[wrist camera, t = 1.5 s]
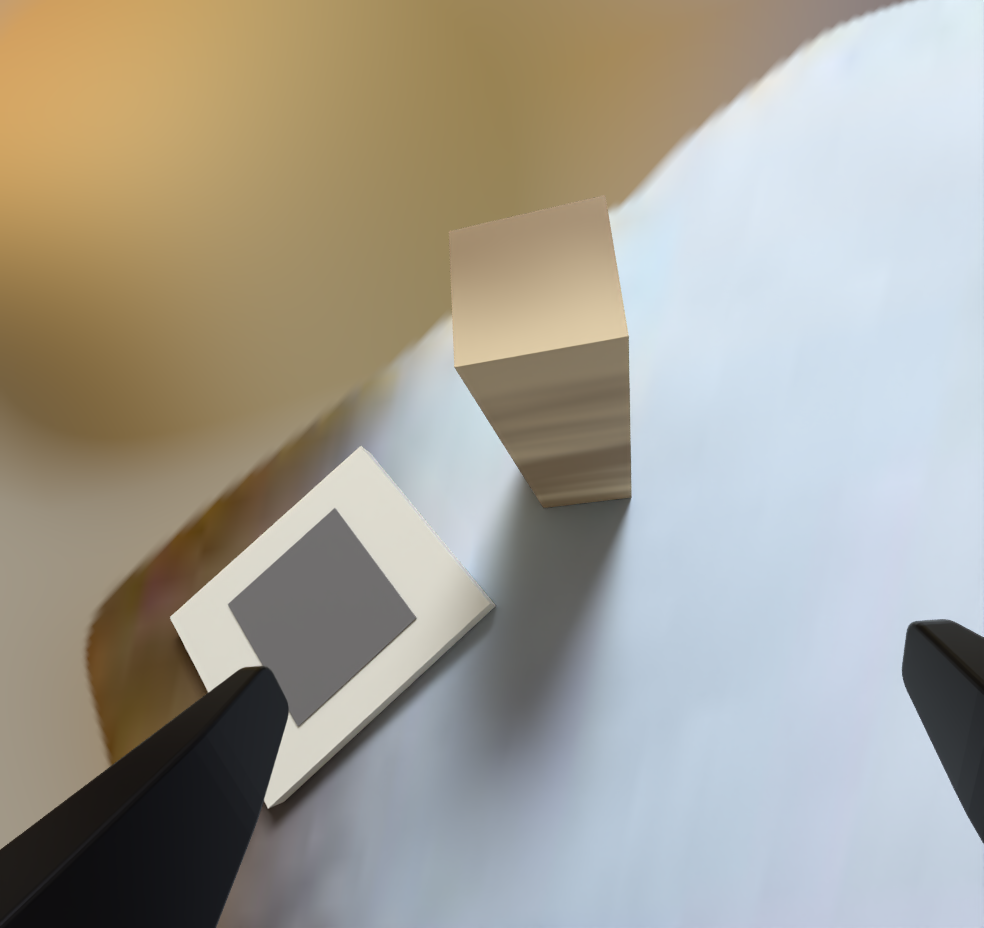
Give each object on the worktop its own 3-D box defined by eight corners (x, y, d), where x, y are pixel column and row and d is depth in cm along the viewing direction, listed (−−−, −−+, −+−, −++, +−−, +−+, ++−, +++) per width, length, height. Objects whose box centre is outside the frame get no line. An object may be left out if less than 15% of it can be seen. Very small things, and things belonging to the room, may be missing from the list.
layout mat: (370, 453, 25) (359, 445, 24) (496, 605, 21) (489, 603, 20) (187, 618, 25) (168, 617, 24) (284, 801, 21) (266, 809, 20)
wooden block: (631, 497, 22) (628, 336, 11) (543, 508, 22) (454, 367, 11) (619, 416, 23) (605, 195, 12) (535, 428, 23) (448, 231, 12)
